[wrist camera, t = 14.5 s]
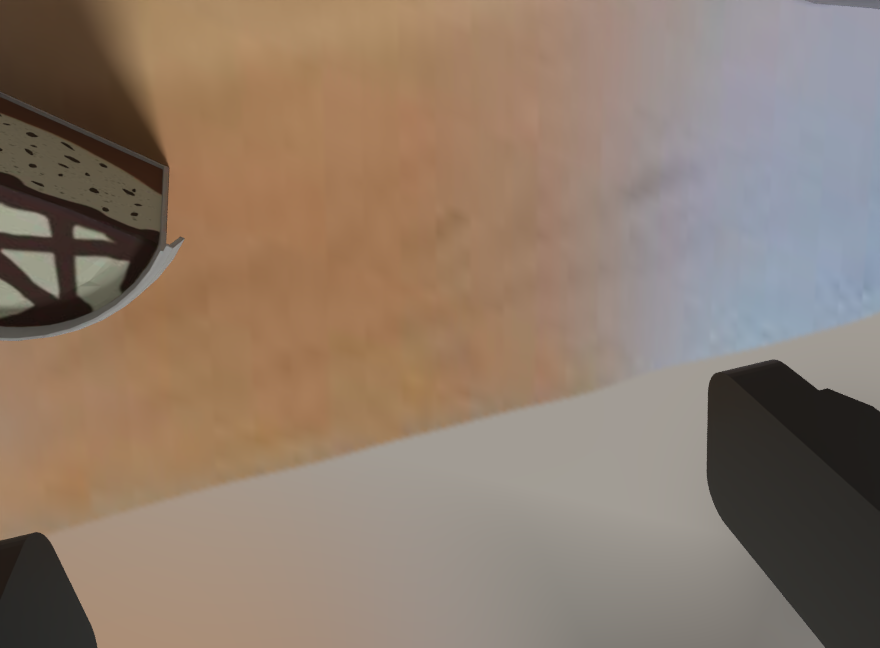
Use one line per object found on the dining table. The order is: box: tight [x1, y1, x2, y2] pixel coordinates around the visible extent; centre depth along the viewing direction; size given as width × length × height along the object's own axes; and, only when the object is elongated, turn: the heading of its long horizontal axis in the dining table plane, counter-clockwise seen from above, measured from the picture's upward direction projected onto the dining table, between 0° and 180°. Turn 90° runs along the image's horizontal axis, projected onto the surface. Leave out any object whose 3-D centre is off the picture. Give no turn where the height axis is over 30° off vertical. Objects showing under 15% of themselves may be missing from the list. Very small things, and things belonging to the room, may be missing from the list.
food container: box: [0, 92, 185, 341], centre depth 29 cm, size 12×6×10 cm, turn 61°
